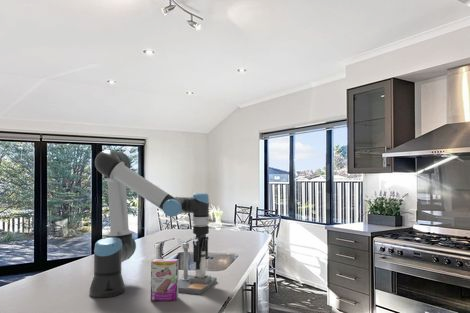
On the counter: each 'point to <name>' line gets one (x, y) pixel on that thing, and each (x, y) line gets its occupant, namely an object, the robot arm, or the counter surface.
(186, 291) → the grey stand
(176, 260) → the candy bar box
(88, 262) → the counter surface
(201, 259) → the clear cream cylinder
